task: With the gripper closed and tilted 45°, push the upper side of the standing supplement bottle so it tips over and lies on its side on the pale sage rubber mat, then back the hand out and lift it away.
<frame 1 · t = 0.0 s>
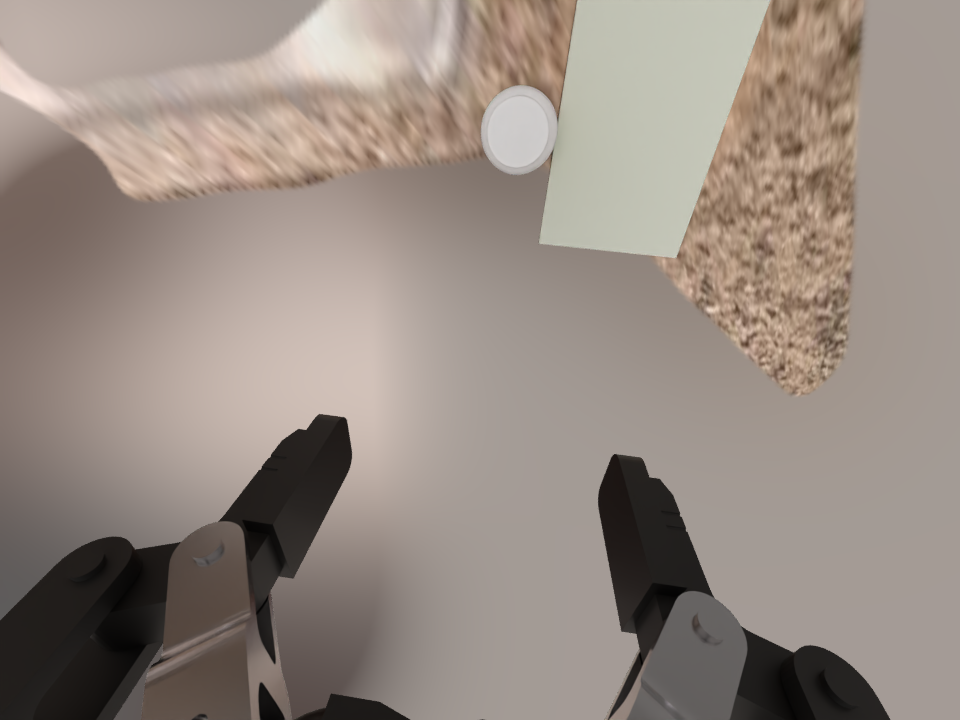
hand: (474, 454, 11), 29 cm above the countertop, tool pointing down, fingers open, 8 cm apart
mat: (633, 141, 31), on the countertop
supplement bottle: (520, 131, 32), on the countertop
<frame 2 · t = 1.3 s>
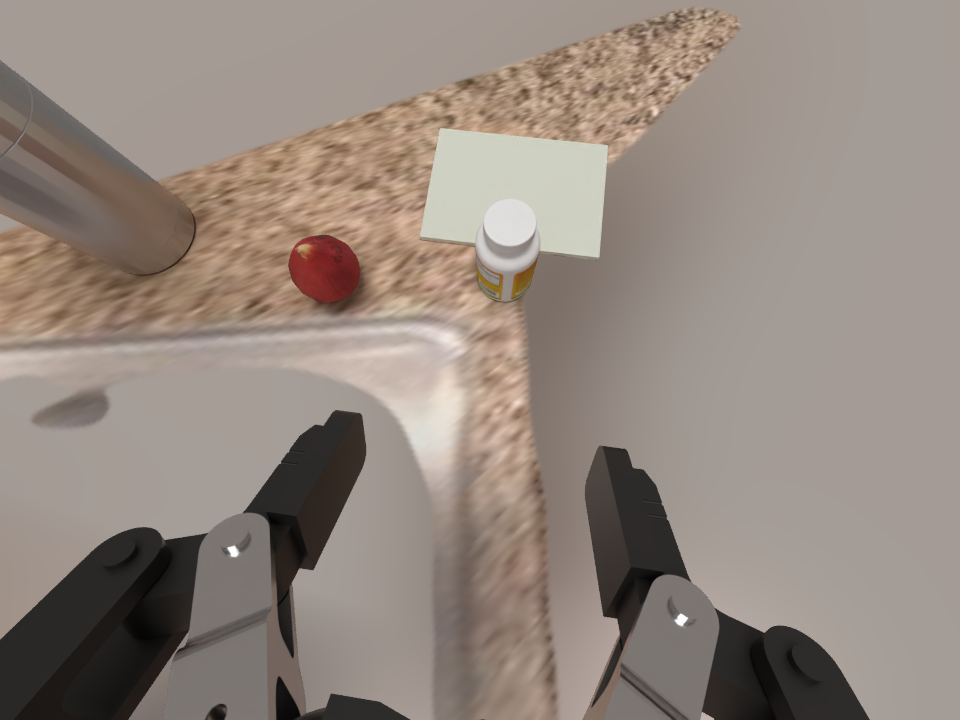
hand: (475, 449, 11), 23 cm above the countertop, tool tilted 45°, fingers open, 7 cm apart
mat: (515, 193, 39), on the countertop
onion: (342, 286, 37), on the countertop
supplement bottle: (504, 278, 37), on the countertop
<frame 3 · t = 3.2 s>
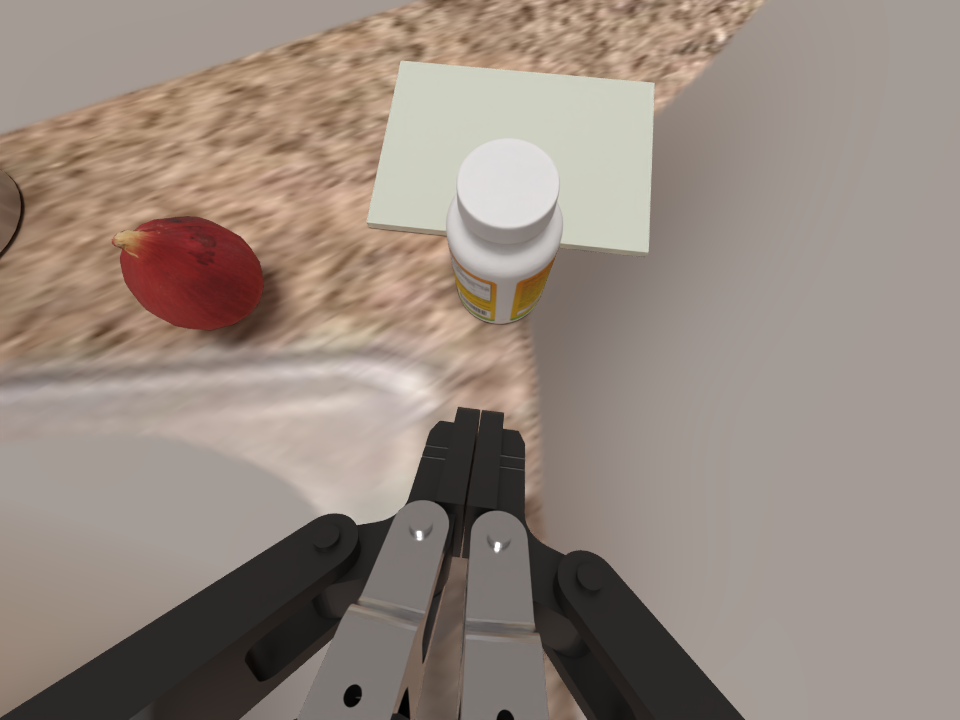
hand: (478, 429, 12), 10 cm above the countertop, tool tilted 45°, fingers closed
mat: (515, 156, 25), on the countertop
onion: (245, 301, 24), on the countertop
supplement bottle: (499, 286, 24), on the countertop
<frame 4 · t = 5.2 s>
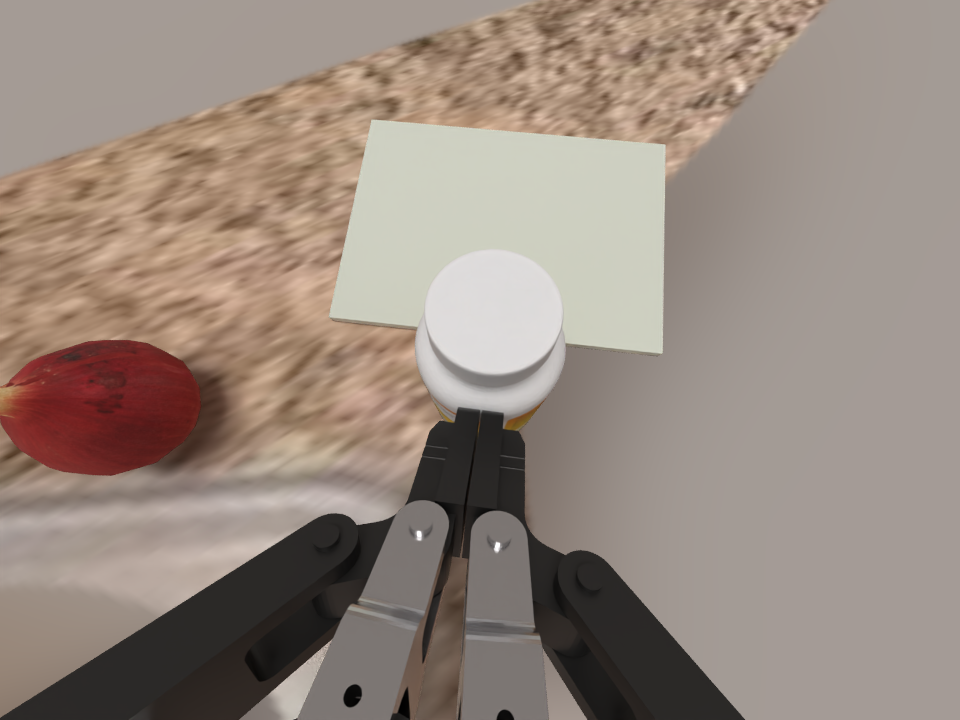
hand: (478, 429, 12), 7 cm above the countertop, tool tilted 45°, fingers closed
mat: (504, 232, 22), on the countertop
onion: (186, 412, 20), on the countertop
supplement bottle: (485, 391, 20), on the countertop, touching gripper
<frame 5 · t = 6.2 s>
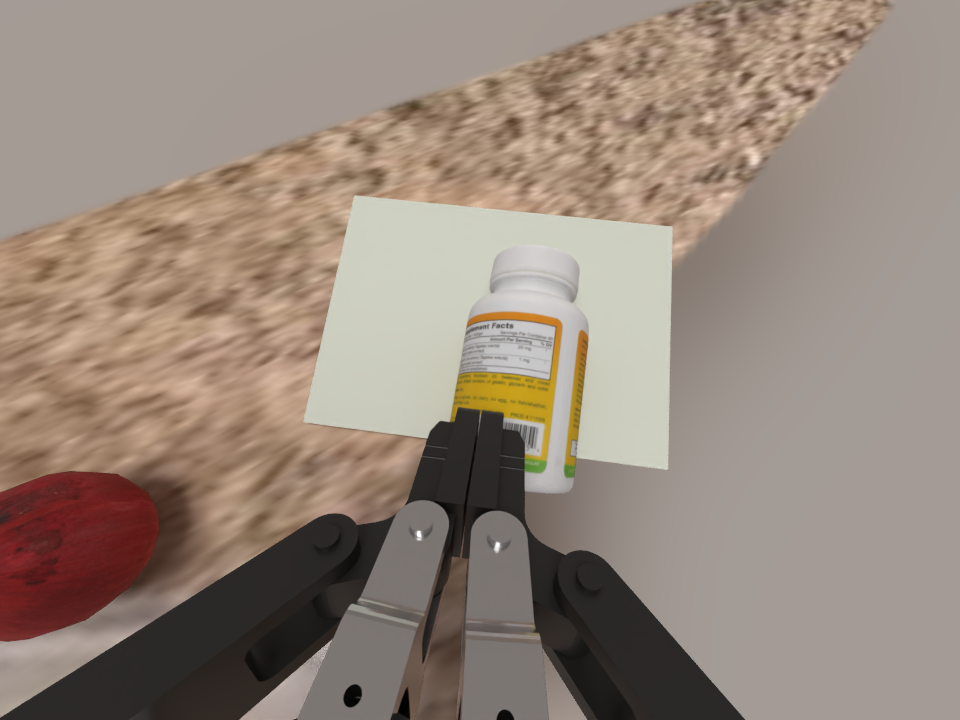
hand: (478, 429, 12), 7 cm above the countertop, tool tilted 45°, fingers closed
mat: (496, 323, 20), on the countertop
onion: (148, 526, 18), on the countertop
supplement bottle: (504, 487, 15), point 3 cm above the countertop, touching mat
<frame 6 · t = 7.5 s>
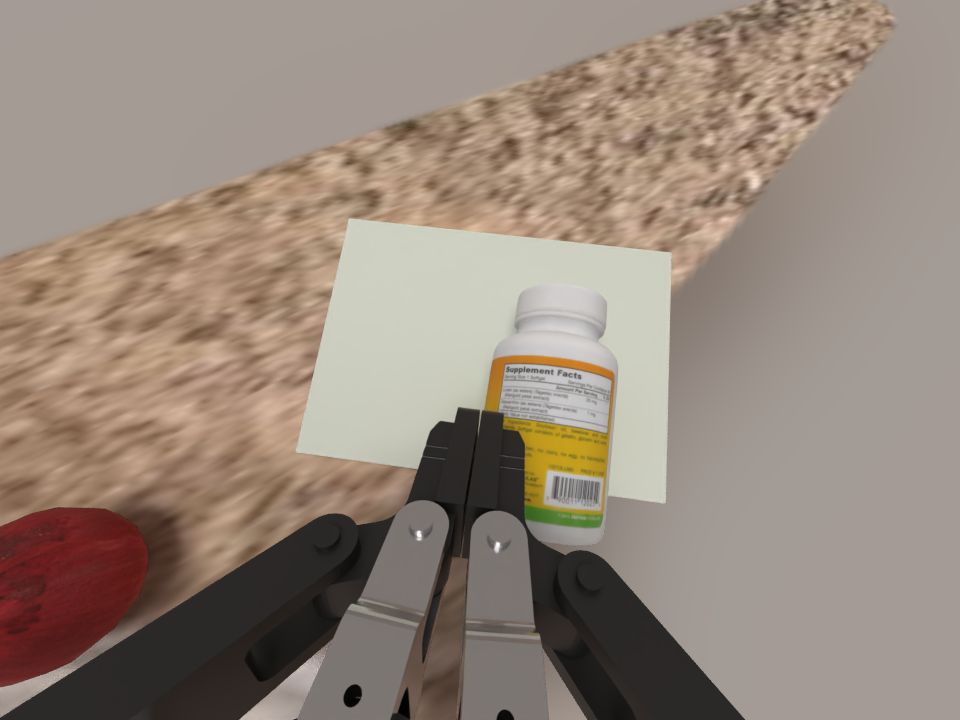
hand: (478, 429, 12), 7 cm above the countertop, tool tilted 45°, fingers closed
mat: (492, 350, 20), on the countertop
onion: (137, 557, 18), on the countertop
supplement bottle: (532, 532, 15), point 3 cm above the countertop, touching mat
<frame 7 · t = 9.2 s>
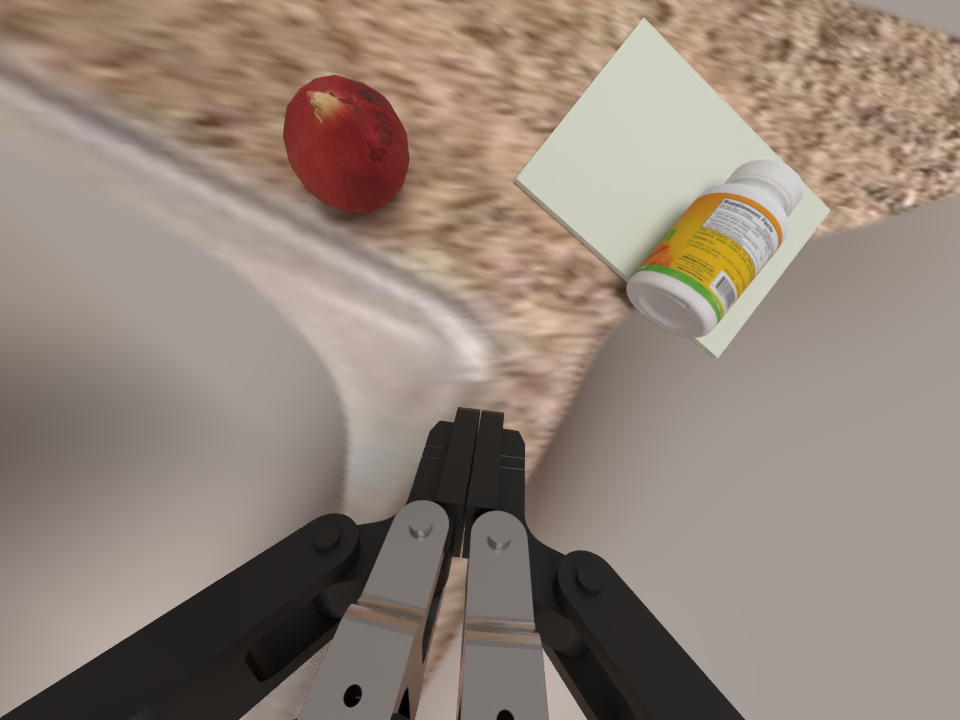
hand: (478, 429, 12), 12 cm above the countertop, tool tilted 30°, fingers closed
mat: (676, 198, 25), on the countertop
onion: (364, 181, 23), on the countertop
supplement bottle: (661, 313, 22), point 3 cm above the countertop, touching mat
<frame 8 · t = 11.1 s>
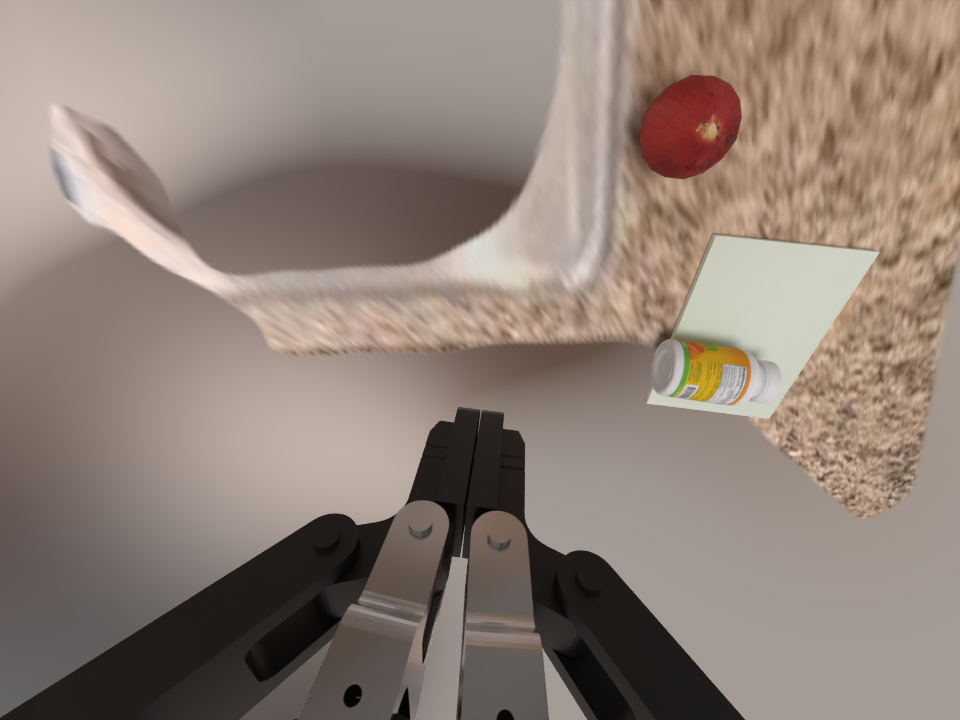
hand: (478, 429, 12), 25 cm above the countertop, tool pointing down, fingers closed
mat: (742, 335, 36), on the countertop
onion: (668, 129, 28), on the countertop
supplement bottle: (659, 366, 35), point 3 cm above the countertop, touching mat
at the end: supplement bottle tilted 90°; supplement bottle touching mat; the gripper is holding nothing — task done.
